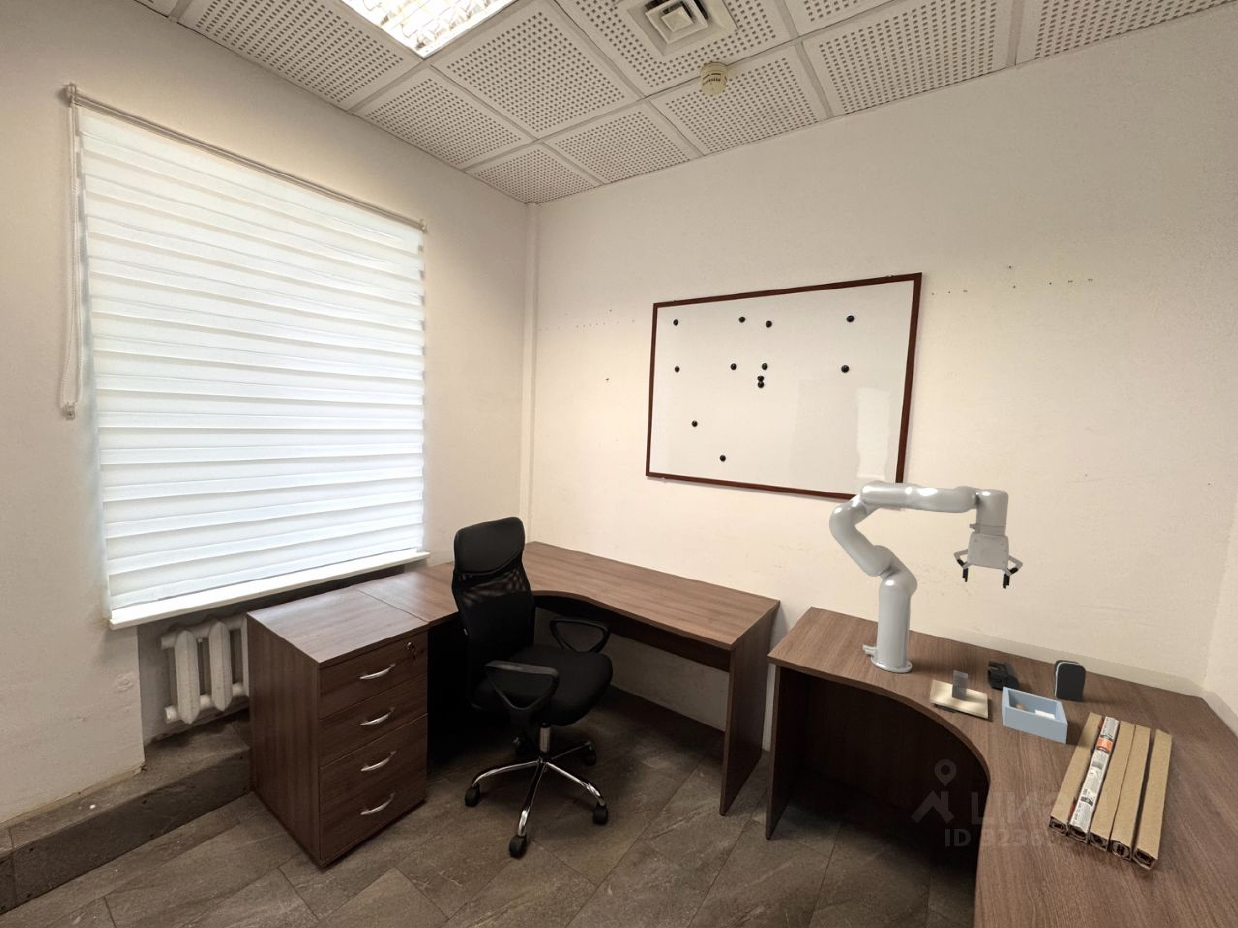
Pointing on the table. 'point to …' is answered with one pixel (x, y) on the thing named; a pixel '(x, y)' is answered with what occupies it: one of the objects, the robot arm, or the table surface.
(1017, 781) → the table surface
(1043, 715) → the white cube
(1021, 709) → the cork ball
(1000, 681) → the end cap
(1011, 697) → the box
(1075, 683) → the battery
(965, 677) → the lid
